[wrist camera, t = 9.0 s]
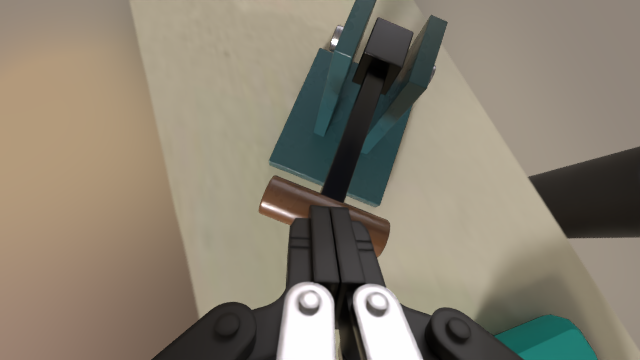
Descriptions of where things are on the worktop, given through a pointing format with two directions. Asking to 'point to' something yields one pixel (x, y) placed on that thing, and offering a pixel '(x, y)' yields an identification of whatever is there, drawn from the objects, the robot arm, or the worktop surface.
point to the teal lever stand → (337, 101)
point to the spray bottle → (548, 340)
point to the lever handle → (349, 138)
